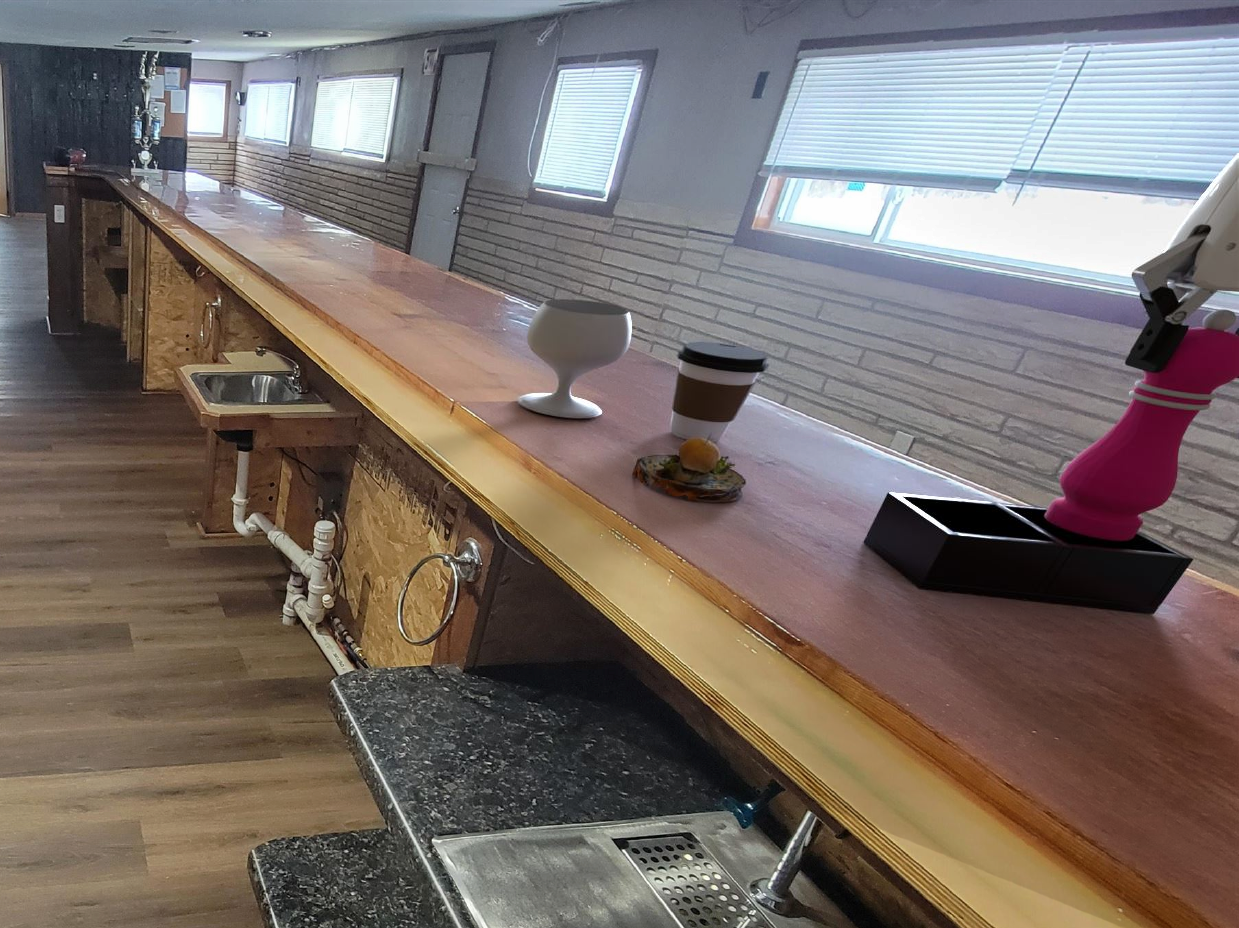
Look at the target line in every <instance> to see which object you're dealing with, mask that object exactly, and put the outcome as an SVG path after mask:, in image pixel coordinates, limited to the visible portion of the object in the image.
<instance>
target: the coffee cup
mask: <svg viewBox="0 0 1239 928" xmlns="http://www.w3.org/2000/svg"><path fill="white" fill-rule="evenodd" d="M676 358H677V359H678V360H680V363H679V368H678V369H677V372H676V373H677V374H676V379H675V384H674V392H673V398H672V404H671V411H672V412H671V417H670V418H671V419H670V429H671V433H672V434H673V436H675V437H677V438H681V439H683V440H685V441H687V440H689V439H691V438H703V439H708V437H709V436H710V437H709V441H711V442H713V443H717V442H718V441H719V440H721V439H722V438H723V437H724V436H725V435H726V432H727V430H728V429H729V427H730V426H731V423H732V422H733V421H734V420H736V418H737V416H738V414H739V412H740V411H741V409H742V407H743V406H744V404H745V402H746V400H747V399H748V396H749V395H750V393H751V392H752V390H753V388H754V387H755V385H756V380H757V379H758V377H759V375H760V373H763V372H766V371H768V369H769V366H770V364H769V363H768V362H767V361H768V359H769V358H768V356H767V355H766V354H765V353H764V352H761V351H760V350H757V349H754V348H749V347H745V346H741V345H735V344H729V343H722V342H713V341H711V342H710V341H694V342H693V341H692V342H688V343H685V344H684V345H683V346H682V348H681V349H680V350H678V351H677V352H676ZM711 432H712V433H711ZM710 434H711V435H710Z"/></svg>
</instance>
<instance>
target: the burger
mask: <svg viewBox="0 0 1239 928" xmlns="http://www.w3.org/2000/svg"><path fill="white" fill-rule="evenodd" d="M711 433H712V432H711ZM710 435H711V434H710ZM709 437H710V436H709ZM709 437H708V439H703V438H691V439H689V440H685V441H684V442H682V443H681V445H680V446H679V449H678V453H676V454H651V455H648V456H647V455H646V456H641V457H638V458H637V459H636V461H635V464H634V465H635V466H634V468H633V471H632V477H633V478H635V477H637V478H638V481H639V483H640V484H642V485H643V484H645V486H646V487H648V486H654V487H655V488H657V487H659V488H661V489H663V490H664V493H665V494H666V495H672V496H673V497H681V496H686V497H687V500H692V501H699V502H709V503H710V502H712V503H713V502H715V503H716V502H717V503H721V502H722V503H723V502H724V503H725V502H731V501H732V502H733V501H736V500H739V499H740V498H742V497H743V490H742V489H743V488H744V487H745V486H746V484H747V479H745V477H744V476H743V475H742V474H741V473H739V472H737V471H736V470H735V469H732V467H735V466H736V463H732V462H730V461H729V462H727V460H728V459H730V457H729V455H726V456H723V455H722V456H721V453H720V450H719V448H718V446H717V445H716V444H715V442H711V441H709Z"/></svg>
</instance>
